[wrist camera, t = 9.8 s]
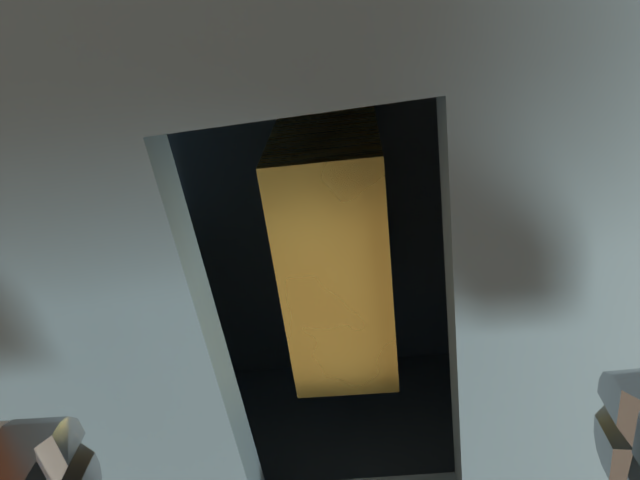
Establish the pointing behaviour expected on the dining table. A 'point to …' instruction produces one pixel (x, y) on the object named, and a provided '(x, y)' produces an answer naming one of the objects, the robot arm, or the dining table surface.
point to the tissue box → (253, 243)
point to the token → (331, 251)
